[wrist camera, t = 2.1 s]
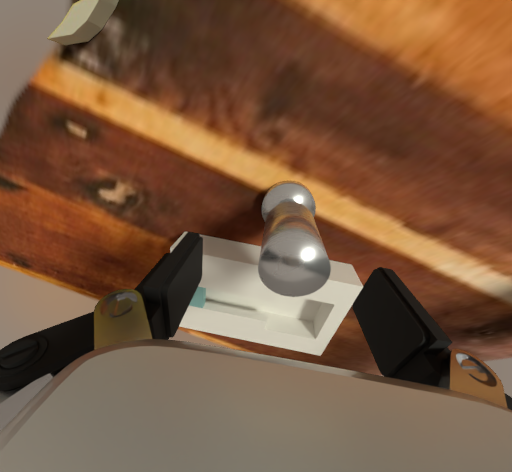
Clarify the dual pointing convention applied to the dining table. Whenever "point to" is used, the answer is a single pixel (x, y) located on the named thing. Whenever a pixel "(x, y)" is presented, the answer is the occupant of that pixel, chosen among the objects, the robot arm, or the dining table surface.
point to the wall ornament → (83, 21)
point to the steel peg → (291, 242)
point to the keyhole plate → (265, 301)
